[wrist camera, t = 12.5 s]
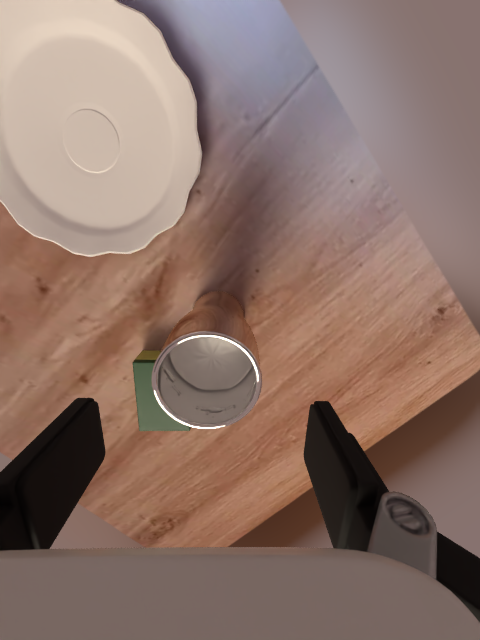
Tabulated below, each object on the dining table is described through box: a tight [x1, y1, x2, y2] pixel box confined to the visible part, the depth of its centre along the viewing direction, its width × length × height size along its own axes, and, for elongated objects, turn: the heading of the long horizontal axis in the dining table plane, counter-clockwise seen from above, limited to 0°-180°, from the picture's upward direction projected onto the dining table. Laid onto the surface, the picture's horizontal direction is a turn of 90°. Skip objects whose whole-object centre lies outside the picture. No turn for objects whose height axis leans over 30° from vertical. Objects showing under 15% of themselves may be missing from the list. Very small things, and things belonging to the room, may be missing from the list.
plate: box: [0, 0, 202, 257], centre depth 23 cm, size 21×21×2 cm
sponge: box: [133, 350, 191, 431], centre depth 29 cm, size 9×6×3 cm, turn 178°
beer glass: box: [152, 291, 262, 429], centre depth 22 cm, size 7×7×15 cm
